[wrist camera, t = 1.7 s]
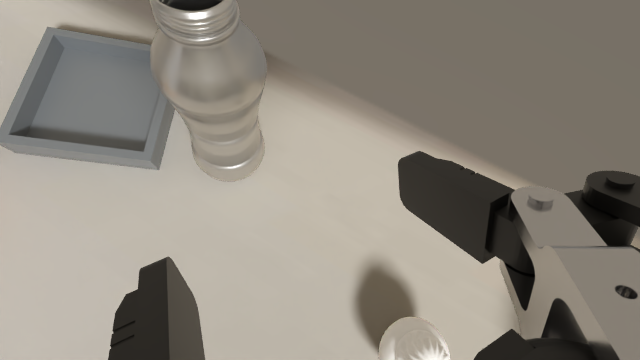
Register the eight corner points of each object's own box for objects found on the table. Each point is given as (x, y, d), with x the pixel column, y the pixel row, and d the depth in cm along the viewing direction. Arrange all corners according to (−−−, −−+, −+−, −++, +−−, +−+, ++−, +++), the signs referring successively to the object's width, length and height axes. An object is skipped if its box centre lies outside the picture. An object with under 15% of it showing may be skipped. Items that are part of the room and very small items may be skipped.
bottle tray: (15, 152, 28) (-6, 141, 26) (62, 44, 32) (47, 26, 30) (158, 169, 30) (150, 161, 28) (186, 65, 34) (180, 50, 32)
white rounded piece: (361, 378, 28) (391, 408, 21) (371, 306, 30) (402, 313, 23) (424, 391, 28) (474, 425, 22) (430, 320, 30) (477, 331, 24)
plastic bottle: (194, 134, 32) (98, -75, 13) (259, 126, 33) (256, -70, 15) (201, 192, 30) (102, 47, 11) (270, 181, 32) (280, 38, 13)
